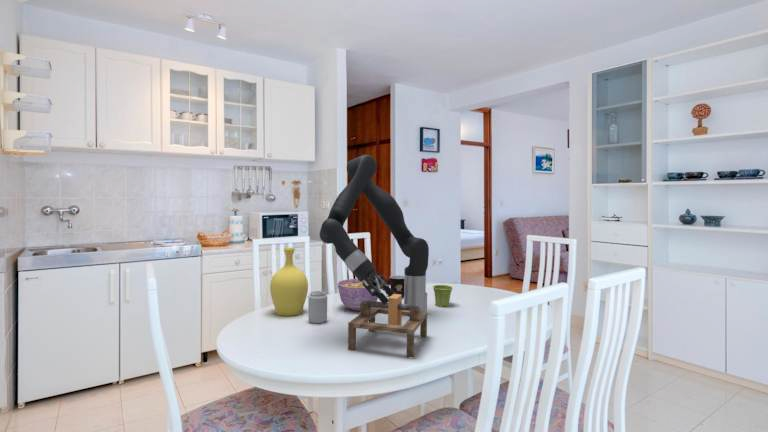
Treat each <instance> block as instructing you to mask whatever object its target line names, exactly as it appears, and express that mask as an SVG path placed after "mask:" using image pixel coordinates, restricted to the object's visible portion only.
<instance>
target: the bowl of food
mask: <svg viewBox="0 0 768 432" xmlns="http://www.w3.org/2000/svg"><path fill="white" fill-rule="evenodd" d="M364 281H365V280H364ZM364 281H362V282H360V281H359V280H358V279H357V278H348V279H343V280H339V281H337V283H336V285H337V289H338V294H339V298H340V301H341V303H342V305H344V306H345V307H346V308H349V309H350V310H352V311H358V312H360V304H361V303H362V301H363V300H366V301H376V302H378V300H379V299H378V297H375V296H374V297H373V296H372V295H371V294H370V293H369V292H368V290H367V289H366V288H365V287H364V286H363V284H362V283H363V282H364Z"/></svg>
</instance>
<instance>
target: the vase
mask: <svg viewBox="0 0 768 432" xmlns="http://www.w3.org/2000/svg"><path fill="white" fill-rule="evenodd" d="M295 250H296V248H295V247H284V248H283V252H284V254H285V264H284V265H283V266H282V267H281V268H280V269H279V270H277V271H276V272H274V274H273V276H272V277H271V280H270V284H269V290H270V295H271V297H270V298H271V300H272V304H273V307H274V310H275V312H276V314H277V315H279V316H281V317H282V316H283V317H291V316H297V315H300V314H302V311H303V309H304V306H305V303H306V299H307V296H308V291H309V283H308V278H307V276H306V274H305V273H304V272H303V271H302V270H301V269H299V268H297V267H296V266H295V264H294V259H293V258H294V253H295Z"/></svg>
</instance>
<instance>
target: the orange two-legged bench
mask: <svg viewBox="0 0 768 432" xmlns="http://www.w3.org/2000/svg"><path fill="white" fill-rule="evenodd" d="M387 299H388V300H389V301H388V302H387V303H388V314H387V315H388V316H387V324H391V325H400V326H402V317H403V316H402V310H399V309H398V305H399V304H403V298H402V294H393V295H392V296H390V297H389V296H388V297H387Z"/></svg>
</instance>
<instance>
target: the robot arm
mask: <svg viewBox="0 0 768 432" xmlns="http://www.w3.org/2000/svg"><path fill="white" fill-rule="evenodd" d="M377 167H378V164H377V161H376V159H375V157H373V156H372V155H370V154H362V155H360V156H358V157H354V158H353V159H350V160H349V161H348V162H347V164H346V171H347V173H348V176H349V178H350V179H351V180H350V182H349V183H348V184H347V185H346V186H345V187H344V189H342V190H341V192H340V193H339V194H338V195H337V196H336V199H335V201H334V203H332V204H333V205H332V206H331V209H330V211H329V214H328V216H327V218H326V219H325V220H324V221H322V224H321V226H320V230H319V239H320V240H321V241H322V242H323V243H325V244H330V245H331V244H332V245H333V246H334V248H335V253H336V255H337V256H338V257H339V258H340V260H341V261H342V262H343V263H344V264H345V265H346V267H347V269H348V270H349V271H350V272H351V273H352V274H353V275H354V276H355V277H356V278H355V279H358V280H359V281H360V282H362V281H364V280H365V281H364V282H363V283H362V284H363V286H364V287H365V288H366V289H367V290H368V292H369V293H370V294H371V295H372V296H373V297H374V296H375V297H378V299H377V300H379V302H382V303H383V304H384V305H385V304H386V303H388V301H389V300H388V298H389V297H390V296H392V295H393V294H395V293H394V292H393V291H392V290H391V286H390V283H389V282H388V281H387V280H388V279H386V278H385V276H383V275H382V274H381V273H380V272H377V273H375V271H376V269H377V266H375V265H374V264H373V262H372V261H371V259H370V258H368V257H367V255H366V254H365V253H364V252H363V251H361V249H359V247H358V246H357V245H356V244H355V243H354V242H353V241H352V240H351V238H350V236H349V234H348V233H347V231H346V229H345V227H344V225H345V222H346V221H347V219H348V218H349V216H350V214H351V212H352V210H353V208H354V206H355V204H356V202H357V200H358V199H359V198H360V196H361V194H362V193H363V195H364V196H365V197H366V199H367V200H368V201H369V203H370V204H371V205H372V208H373V209H375V212H376V213H377V215H378V217H379V218H380V219H381V221H382V222H383V223H384V224H385V226H386V227H387V229H388V230H389V231H390V233H391V234H392V235H393V238H394V239H395V240H396V242H397V244H398V246H399V248H400V250H401V251H402V253H403V255H405V256H406V257H408V258H409V264H408V266H406V267H404V274H403V276H404V297H403V304H409V305H418V306H419V307H420V311H424V312H427V313H428V292H427V291H426V287H427V285H426V283H427V281H426V278H427V277H426V276H427V270H428V267H429V257H430V256H429V253H430V252H429V251H430V246H429V244H428V242H427V240H426V239H423V238H420V237H415V236H414V234H413V233H412V232H411V231H410V230H409V228H408V227H407V224H406V221H405V216H404V211H402V208H401V207H400V205H399V204H398V202H397V201H396V199H395V197H393V196H392V195H391V194H390V193H388V192H387V191H386V190H384V189H383V188H381V187H379V186H378V185H377V184H376V183H374V181H373V180H372V178H373V177H374V176H375V174H376V172H377ZM382 291H383V292H382ZM384 293H385V294H386V295H387V296H388V297H387V296H386V295H385V294H384Z"/></svg>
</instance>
